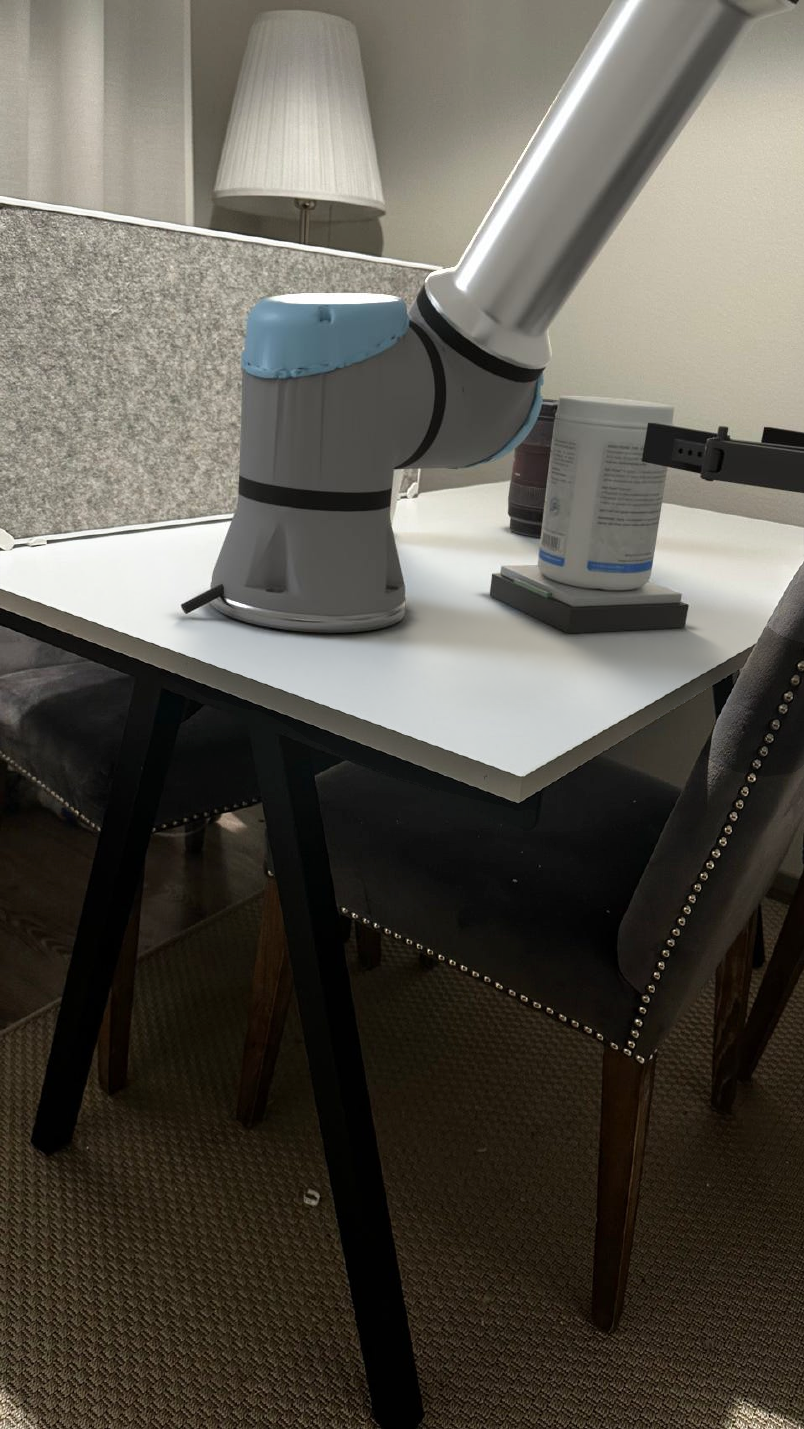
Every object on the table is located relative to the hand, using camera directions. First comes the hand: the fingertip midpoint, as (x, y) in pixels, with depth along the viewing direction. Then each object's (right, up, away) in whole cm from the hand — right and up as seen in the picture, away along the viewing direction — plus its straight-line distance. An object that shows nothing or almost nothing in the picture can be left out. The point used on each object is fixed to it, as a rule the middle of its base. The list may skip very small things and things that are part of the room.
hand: (708, 443), depth 82 cm
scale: (-7, -11, +12) cm, 18 cm away
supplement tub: (-7, -9, +11) cm, 16 cm away
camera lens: (-7, +1, +47) cm, 48 cm away
